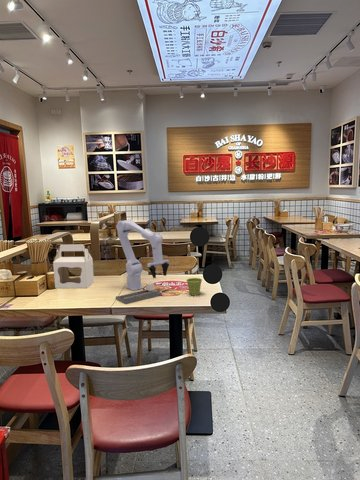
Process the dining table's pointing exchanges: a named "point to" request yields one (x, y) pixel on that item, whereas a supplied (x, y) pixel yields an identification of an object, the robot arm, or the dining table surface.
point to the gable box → (82, 262)
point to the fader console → (137, 296)
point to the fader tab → (150, 286)
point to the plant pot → (194, 285)
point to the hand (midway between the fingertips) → (159, 276)
